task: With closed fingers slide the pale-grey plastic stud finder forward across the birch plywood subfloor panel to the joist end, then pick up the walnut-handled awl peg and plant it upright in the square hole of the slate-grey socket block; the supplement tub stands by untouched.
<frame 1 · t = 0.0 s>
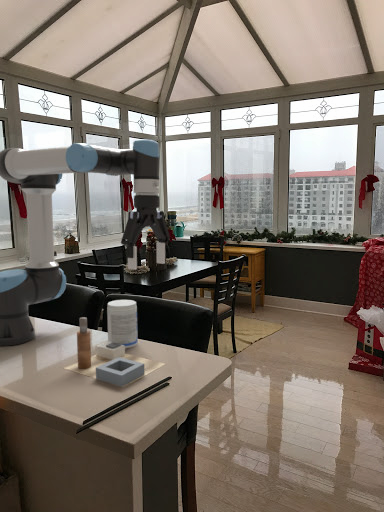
hand: (147, 266, 123), 28 cm above the counter, fingers open, 13 cm apart
supplement tub: (122, 346, 135), on the counter
stud finder: (110, 355, 125), point 1 cm above the counter, touching plywood panel
plywood panel: (115, 369, 116), on the counter
awl: (84, 366, 116), point 1 cm above the counter, touching plywood panel
socket: (120, 376, 109), resting on plywood panel
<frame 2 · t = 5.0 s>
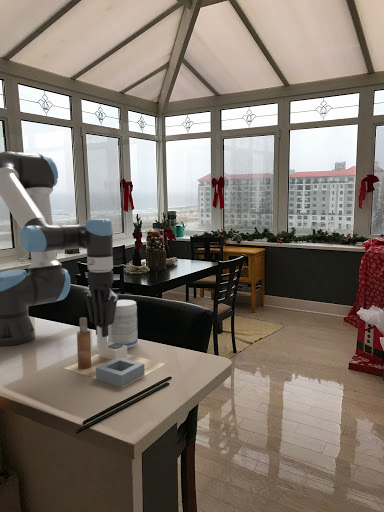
hand: (102, 346, 126), 3 cm above the counter, fingers closed
nothing on the counter moved.
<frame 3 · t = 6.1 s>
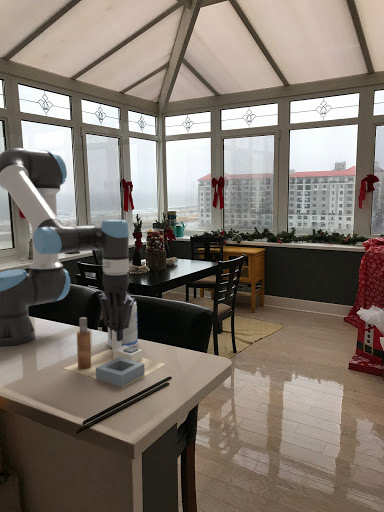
hand: (116, 350, 123), 3 cm above the counter, fingers closed
stud finder: (127, 359, 121), point 1 cm above the counter, touching gripper, plywood panel
everything else where it was.
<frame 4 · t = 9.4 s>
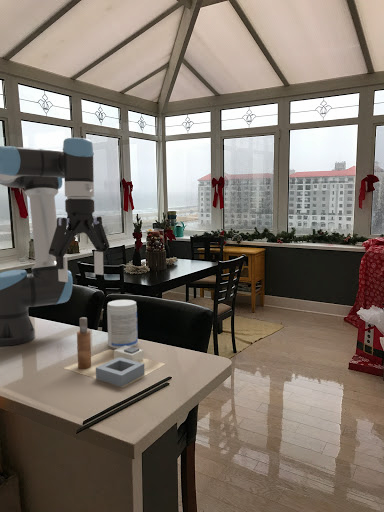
hand: (82, 277, 112), 26 cm above the counter, fingers open, 12 cm apart
stud finder: (128, 359, 121), point 1 cm above the counter, touching plywood panel
everything else where it was.
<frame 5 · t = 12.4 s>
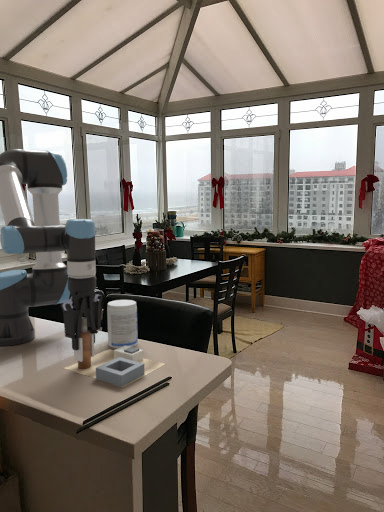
hand: (84, 357, 115), 4 cm above the counter, fingers closed on awl, 3 cm apart
awl: (84, 366, 116), point 1 cm above the counter, touching gripper, plywood panel
everything else where it was.
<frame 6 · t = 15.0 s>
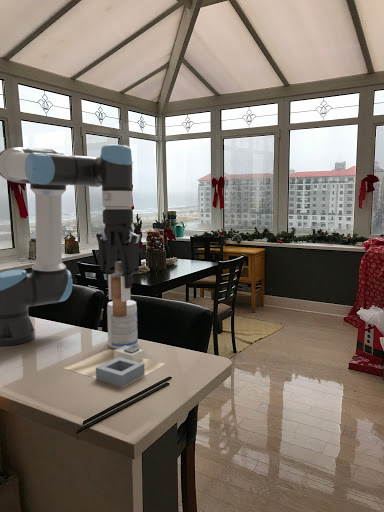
hand: (119, 299, 106), 22 cm above the counter, fingers closed on awl, 3 cm apart
awl: (119, 315, 107), point 18 cm above the counter, touching gripper
everything else where it was.
when the fingers open (5 cm above the counter, at t = 17.7 s): awl stays where it is, resting on plywood panel.
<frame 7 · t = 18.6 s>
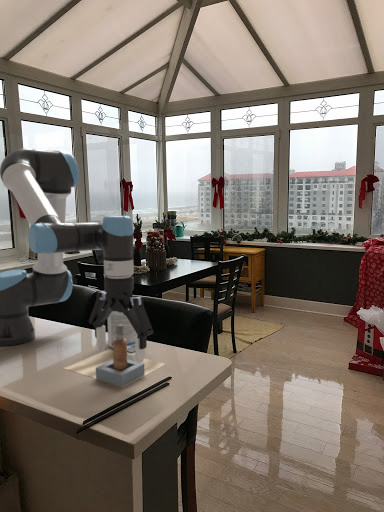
hand: (120, 355, 109), 7 cm above the counter, fingers open, 13 cm apart
awl: (120, 376, 109), point 1 cm above the counter, touching plywood panel
everything else where it was.
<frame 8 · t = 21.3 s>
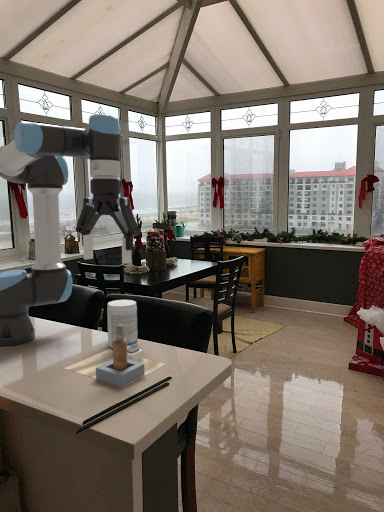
hand: (107, 261, 107), 32 cm above the counter, fingers open, 13 cm apart
nothing on the counter moved.
at the end: stud finder inside the target area (3.4 cm from its centre), point 1.0 cm above the counter; awl 0.1 cm off-centre on the socket, point 0.0 cm above the socket's base; awl tilted 0° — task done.
